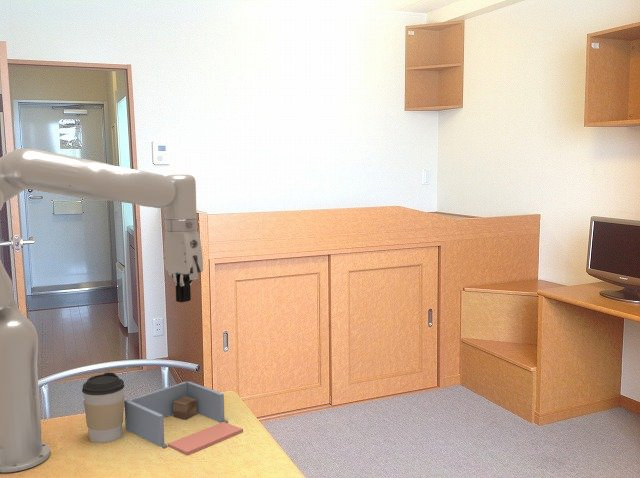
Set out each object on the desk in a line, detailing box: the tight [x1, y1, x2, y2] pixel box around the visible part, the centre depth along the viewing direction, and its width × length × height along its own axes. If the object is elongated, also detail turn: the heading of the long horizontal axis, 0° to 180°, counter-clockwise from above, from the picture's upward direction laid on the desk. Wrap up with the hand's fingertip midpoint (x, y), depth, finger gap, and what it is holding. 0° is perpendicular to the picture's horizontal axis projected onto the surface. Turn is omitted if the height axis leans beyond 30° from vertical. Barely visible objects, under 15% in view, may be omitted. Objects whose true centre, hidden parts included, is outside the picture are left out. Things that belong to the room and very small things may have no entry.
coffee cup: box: [81, 371, 125, 444], centre depth 144 cm, size 9×9×15 cm
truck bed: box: [124, 380, 229, 449], centre depth 149 cm, size 18×15×8 cm
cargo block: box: [172, 396, 198, 421], centre depth 156 cm, size 4×4×4 cm
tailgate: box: [167, 422, 244, 456], centre depth 142 cm, size 16×1×7 cm
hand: (183, 301), depth 155 cm, fingers closed
